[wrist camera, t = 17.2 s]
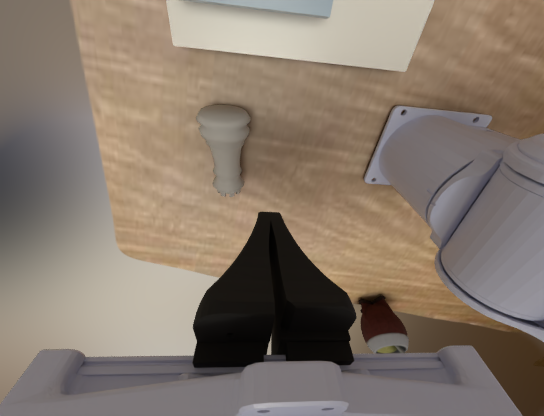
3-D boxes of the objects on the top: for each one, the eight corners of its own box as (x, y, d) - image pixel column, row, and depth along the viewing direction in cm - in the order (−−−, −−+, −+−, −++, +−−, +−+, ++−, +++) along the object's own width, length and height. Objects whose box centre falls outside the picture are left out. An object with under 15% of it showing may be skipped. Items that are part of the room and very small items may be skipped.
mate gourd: (346, 308, 41) (377, 412, 29) (373, 287, 37) (422, 401, 25) (375, 315, 43) (415, 416, 31) (404, 296, 38) (464, 406, 26)
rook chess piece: (260, 117, 16) (257, 195, 22) (236, 101, 19) (238, 174, 24) (206, 125, 14) (217, 208, 20) (187, 106, 17) (201, 184, 22)
